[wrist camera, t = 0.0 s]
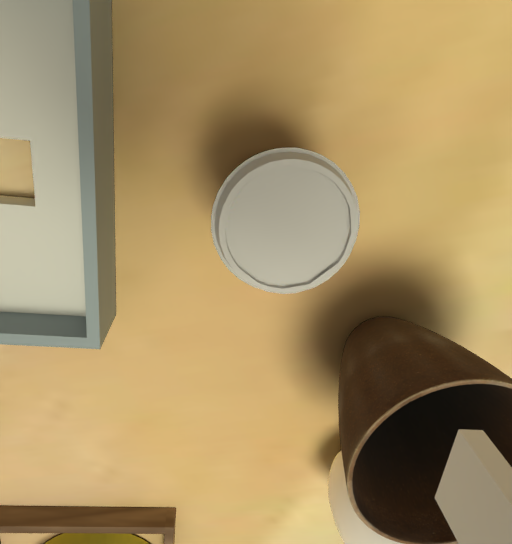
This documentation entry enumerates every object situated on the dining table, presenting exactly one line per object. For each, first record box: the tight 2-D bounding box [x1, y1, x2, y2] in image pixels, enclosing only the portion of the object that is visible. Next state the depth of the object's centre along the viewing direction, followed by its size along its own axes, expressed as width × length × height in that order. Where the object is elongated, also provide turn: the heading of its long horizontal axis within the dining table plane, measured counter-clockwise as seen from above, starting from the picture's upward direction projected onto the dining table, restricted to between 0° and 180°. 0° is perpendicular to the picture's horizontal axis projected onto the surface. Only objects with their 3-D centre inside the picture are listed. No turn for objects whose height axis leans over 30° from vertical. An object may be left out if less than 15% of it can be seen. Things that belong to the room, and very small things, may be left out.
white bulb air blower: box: [328, 451, 403, 544], centre depth 42 cm, size 8×8×18 cm
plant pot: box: [338, 317, 512, 544], centre depth 38 cm, size 15×15×16 cm
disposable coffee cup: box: [211, 148, 360, 294], centre depth 32 cm, size 10×10×12 cm
